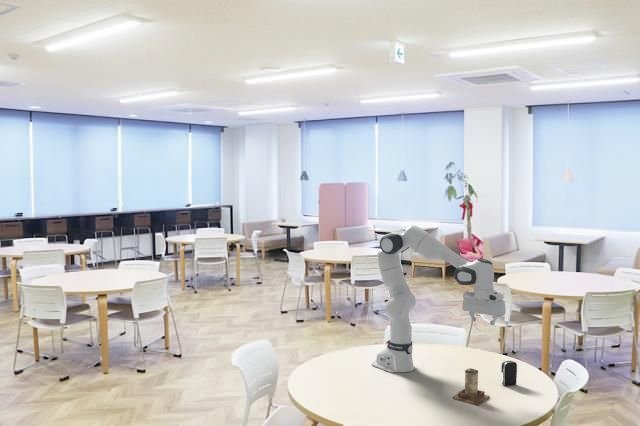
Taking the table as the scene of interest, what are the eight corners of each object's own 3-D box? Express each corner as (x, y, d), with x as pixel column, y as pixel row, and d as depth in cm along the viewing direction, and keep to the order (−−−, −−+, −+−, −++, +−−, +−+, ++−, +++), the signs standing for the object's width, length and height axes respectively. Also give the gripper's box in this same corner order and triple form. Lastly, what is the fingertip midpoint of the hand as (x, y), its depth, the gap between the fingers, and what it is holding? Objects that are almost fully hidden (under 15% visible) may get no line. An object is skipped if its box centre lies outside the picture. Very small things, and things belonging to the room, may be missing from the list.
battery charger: (511, 382, 279) (512, 359, 278) (517, 385, 275) (517, 361, 274) (499, 384, 276) (500, 360, 276) (504, 386, 273) (505, 363, 272)
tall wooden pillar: (464, 396, 259) (465, 370, 259) (469, 393, 262) (470, 368, 261) (472, 398, 256) (473, 372, 256) (477, 396, 259) (478, 370, 258)
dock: (452, 398, 259) (452, 392, 258) (465, 390, 268) (465, 385, 268) (477, 405, 251) (477, 399, 251) (489, 397, 260) (489, 391, 260)
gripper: (460, 291, 273) (459, 320, 274) (501, 298, 260) (500, 328, 261) (466, 289, 278) (465, 318, 279) (507, 295, 265) (506, 325, 265)
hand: (483, 323), depth 270 cm, fingers open, 8 cm apart
